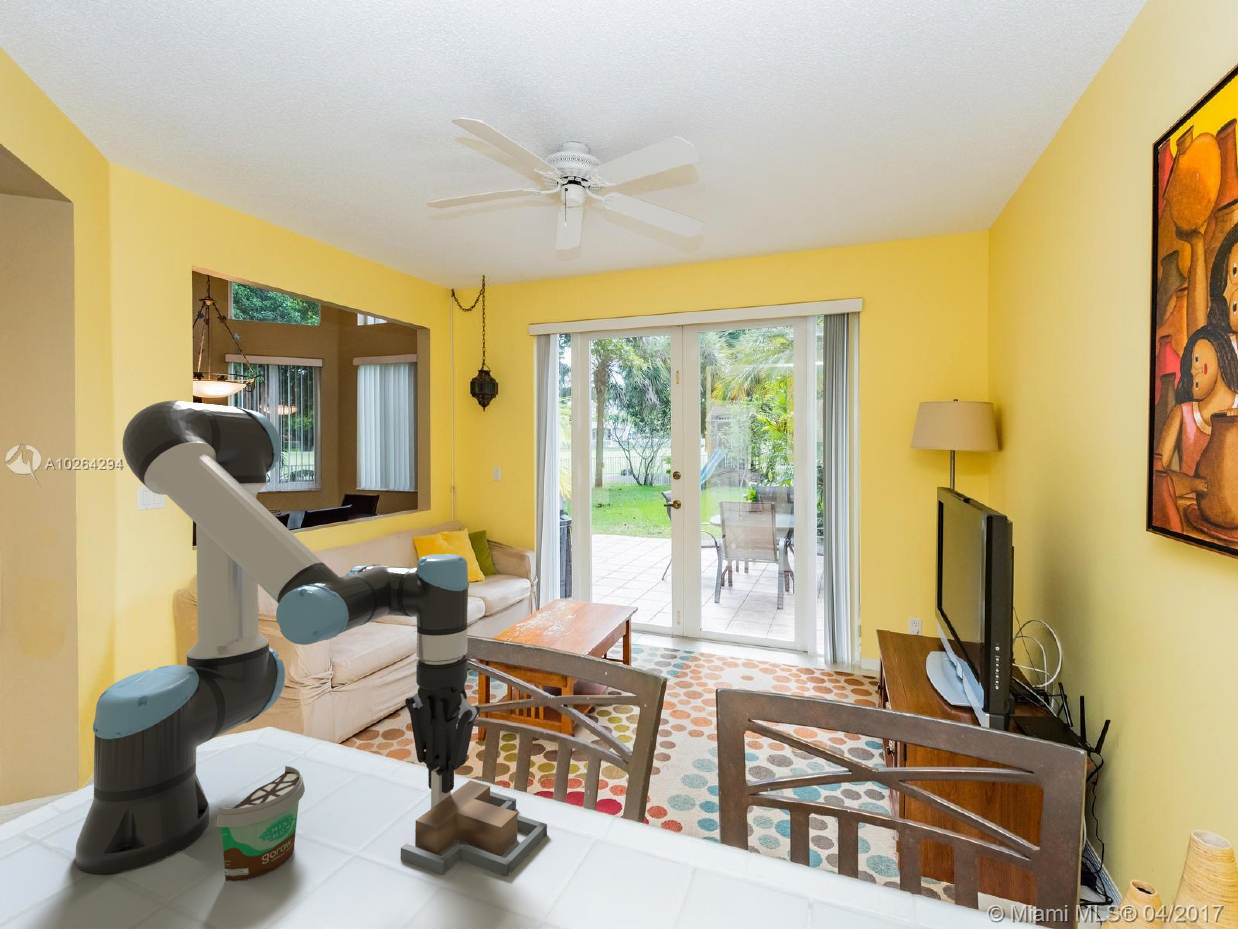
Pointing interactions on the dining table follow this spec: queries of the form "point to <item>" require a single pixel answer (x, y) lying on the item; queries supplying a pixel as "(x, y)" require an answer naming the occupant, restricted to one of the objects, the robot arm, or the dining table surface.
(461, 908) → the dining table surface
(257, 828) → the food container
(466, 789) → the t block
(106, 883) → the dining table surface
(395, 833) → the dining table surface
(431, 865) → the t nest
